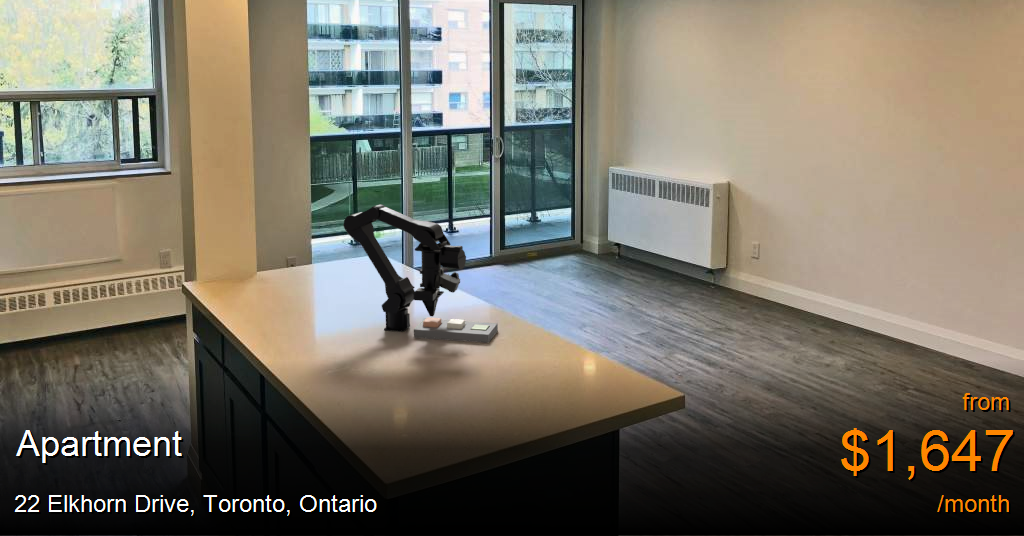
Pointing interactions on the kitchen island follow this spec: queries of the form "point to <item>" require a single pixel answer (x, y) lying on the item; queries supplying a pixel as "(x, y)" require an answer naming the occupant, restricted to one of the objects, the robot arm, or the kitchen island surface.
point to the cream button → (456, 324)
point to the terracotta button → (432, 322)
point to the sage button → (480, 327)
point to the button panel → (457, 332)
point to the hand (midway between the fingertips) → (431, 316)
